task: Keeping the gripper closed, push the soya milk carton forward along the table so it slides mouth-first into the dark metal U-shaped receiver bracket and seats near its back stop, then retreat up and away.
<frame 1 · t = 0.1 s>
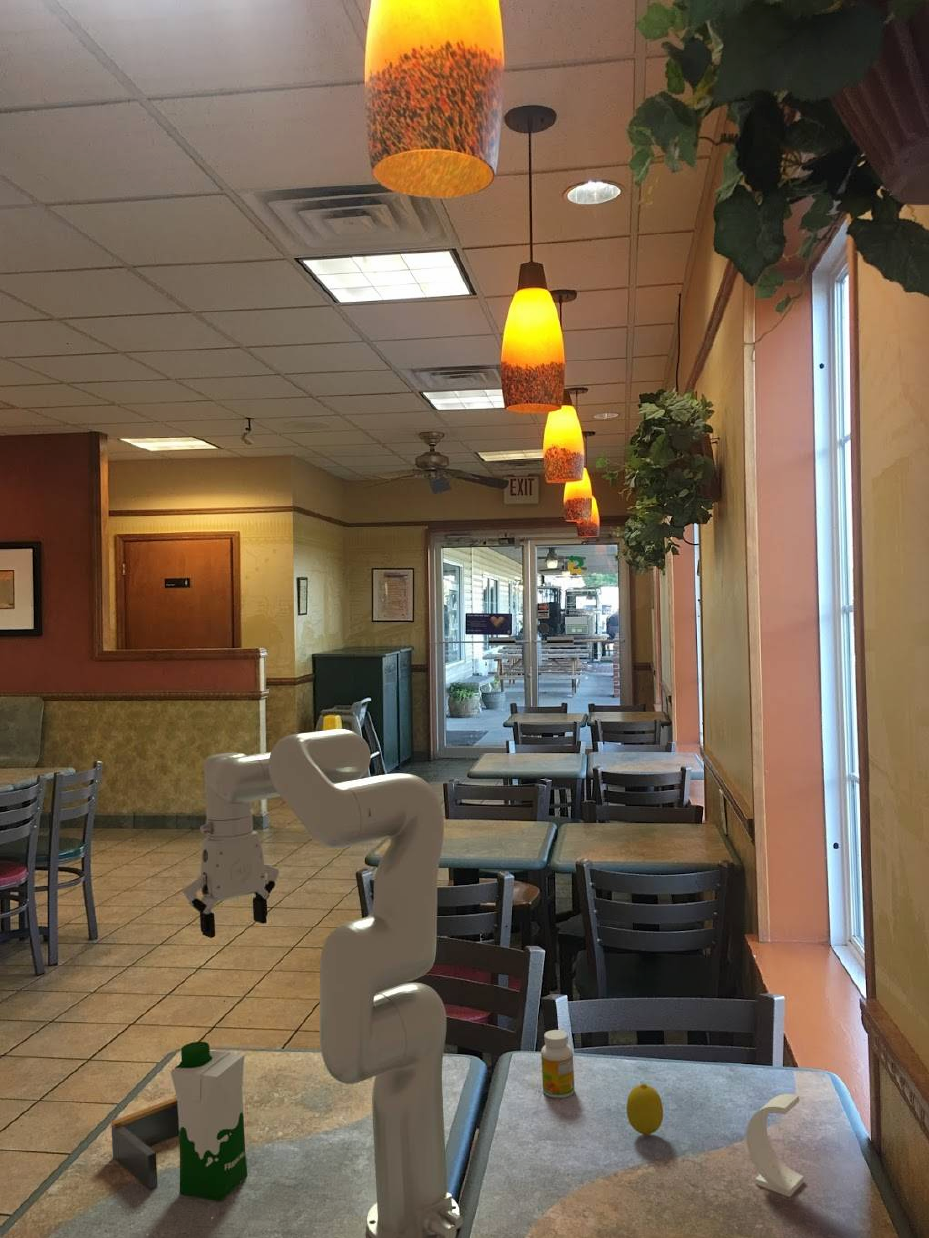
hand: (235, 928, 166), 31 cm above the table, fingers open, 9 cm apart
headphone stand: (776, 1183, 138), on the table
soya milk: (214, 1186, 145), on the table
supplement bottle: (558, 1092, 169), on the table
lemon: (646, 1137, 152), on the table
receiver bracket: (177, 1155, 154), on the table
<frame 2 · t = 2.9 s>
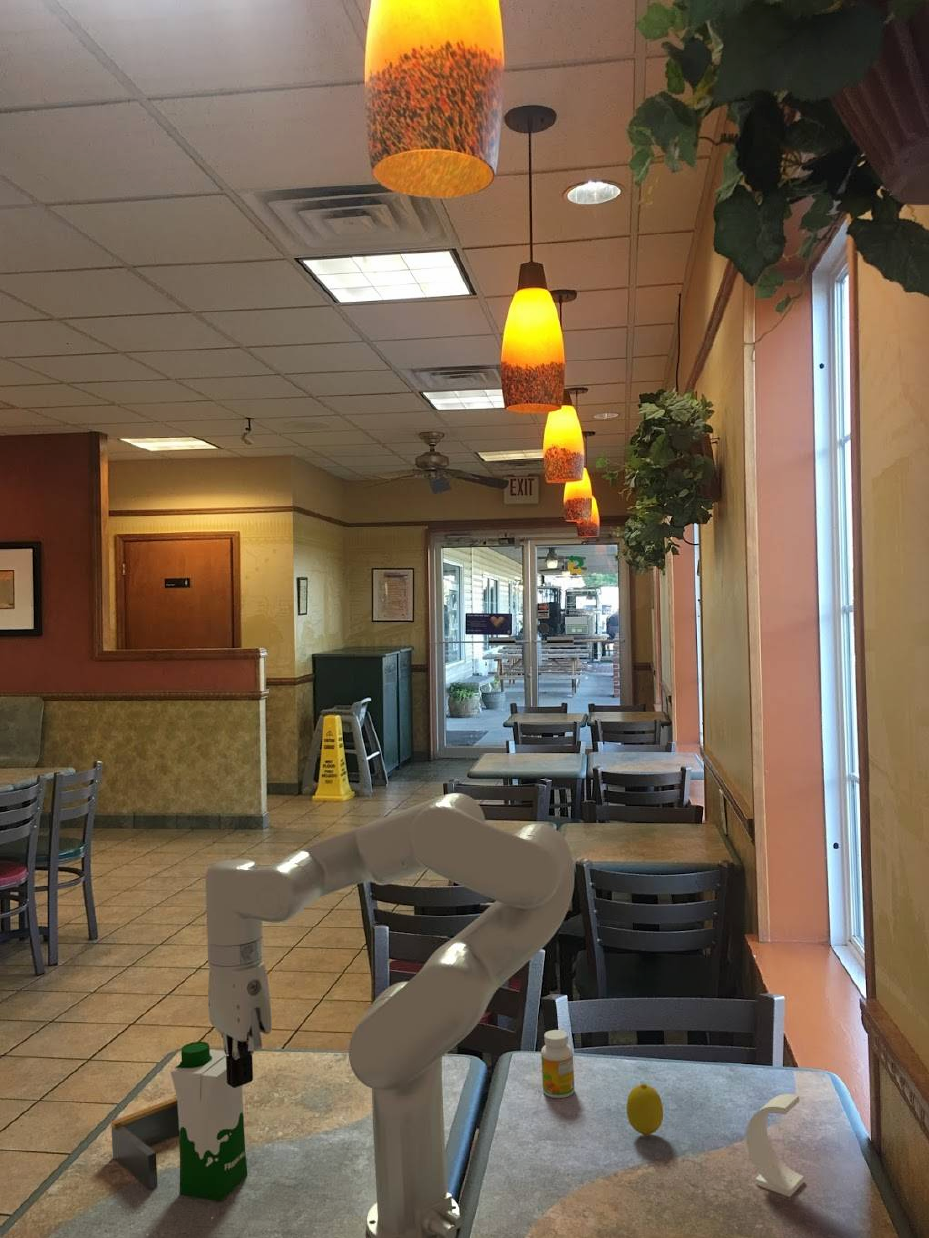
hand: (240, 1082, 138), 18 cm above the table, fingers closed
nothing on the table moved.
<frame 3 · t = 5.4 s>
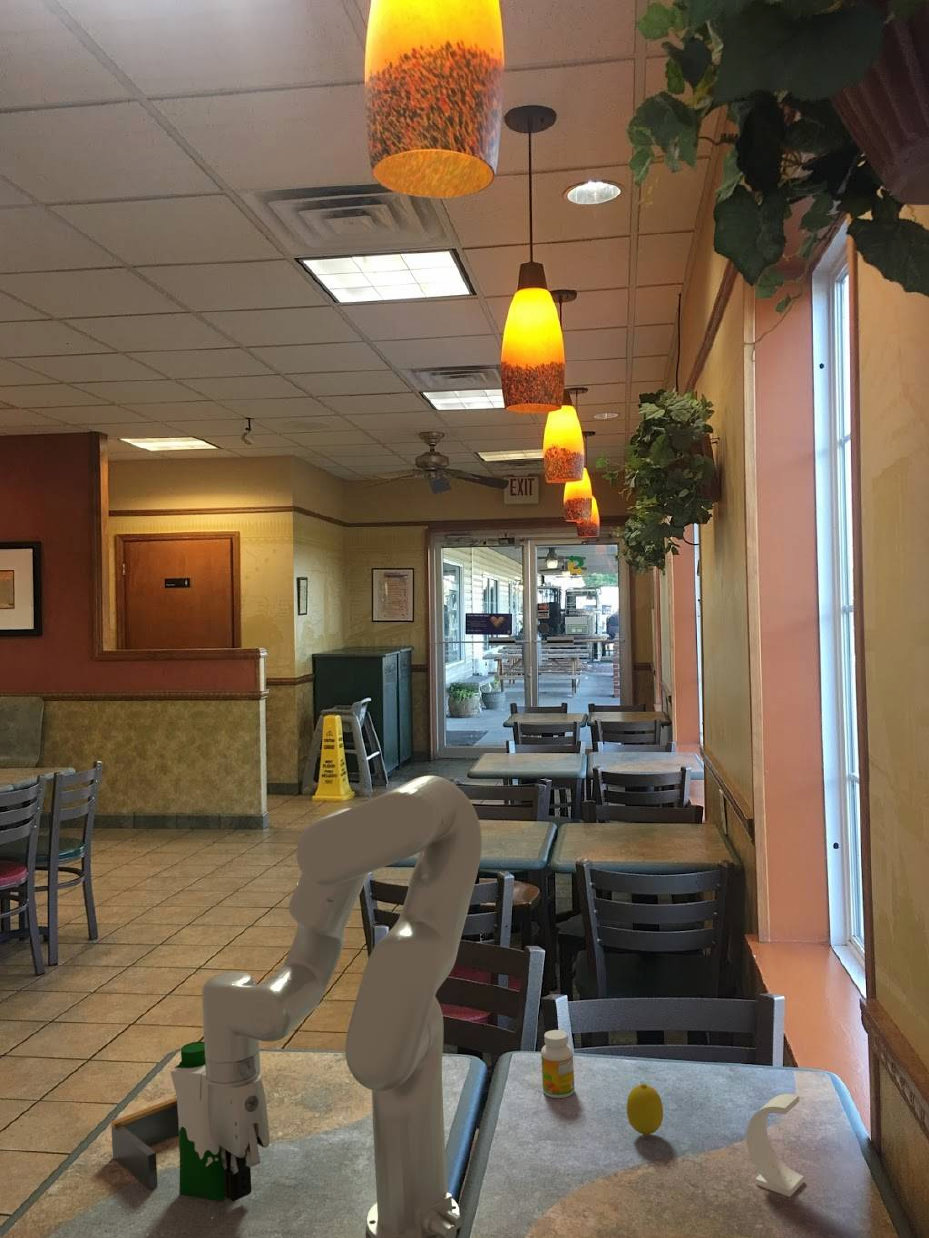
hand: (238, 1195, 139), 1 cm above the table, fingers closed
soya milk: (214, 1186, 145), on the table, touching gripper
everything else where it was.
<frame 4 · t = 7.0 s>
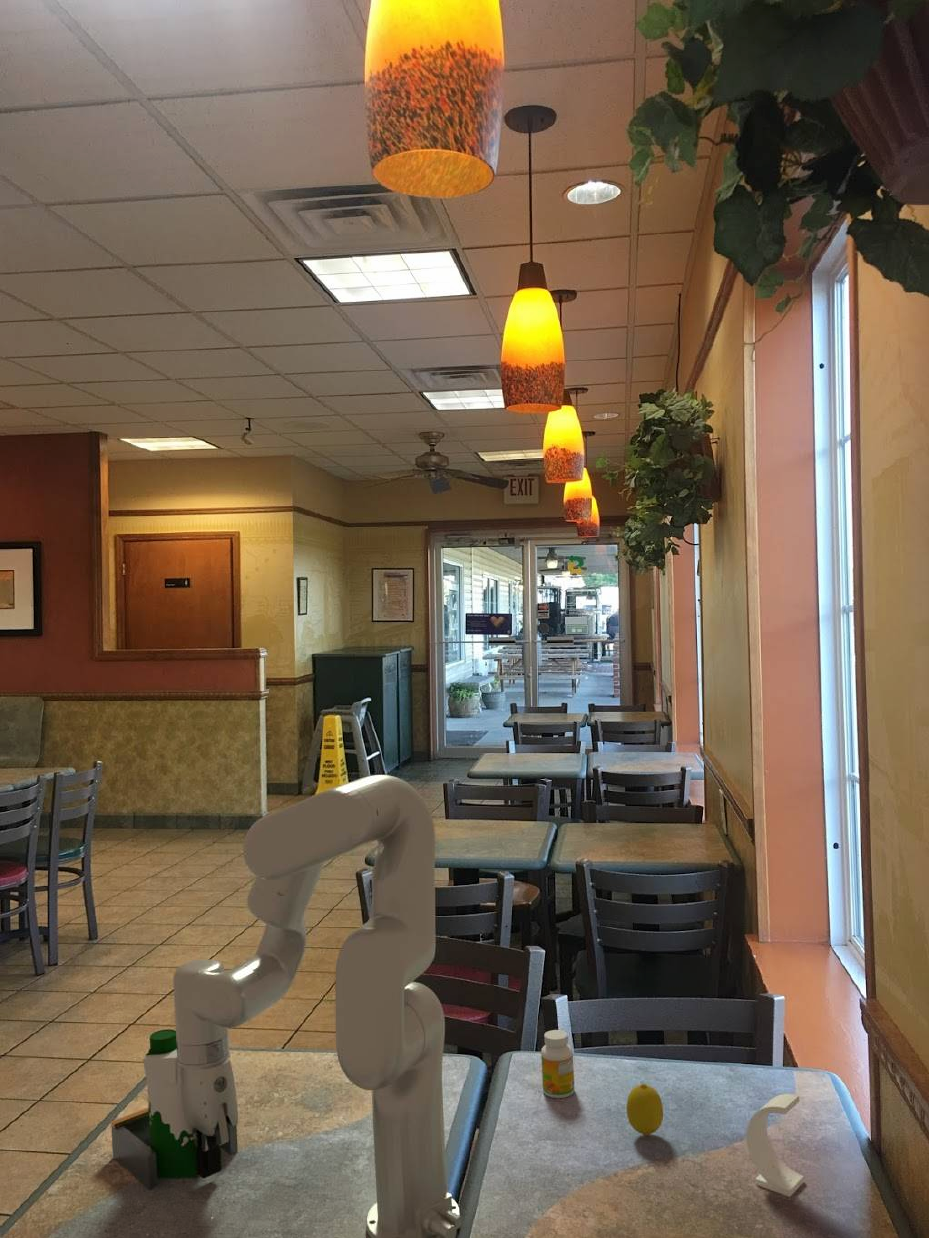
hand: (209, 1172, 146), 1 cm above the table, fingers closed
soya milk: (183, 1167, 151), on the table, touching gripper
everything else where it was.
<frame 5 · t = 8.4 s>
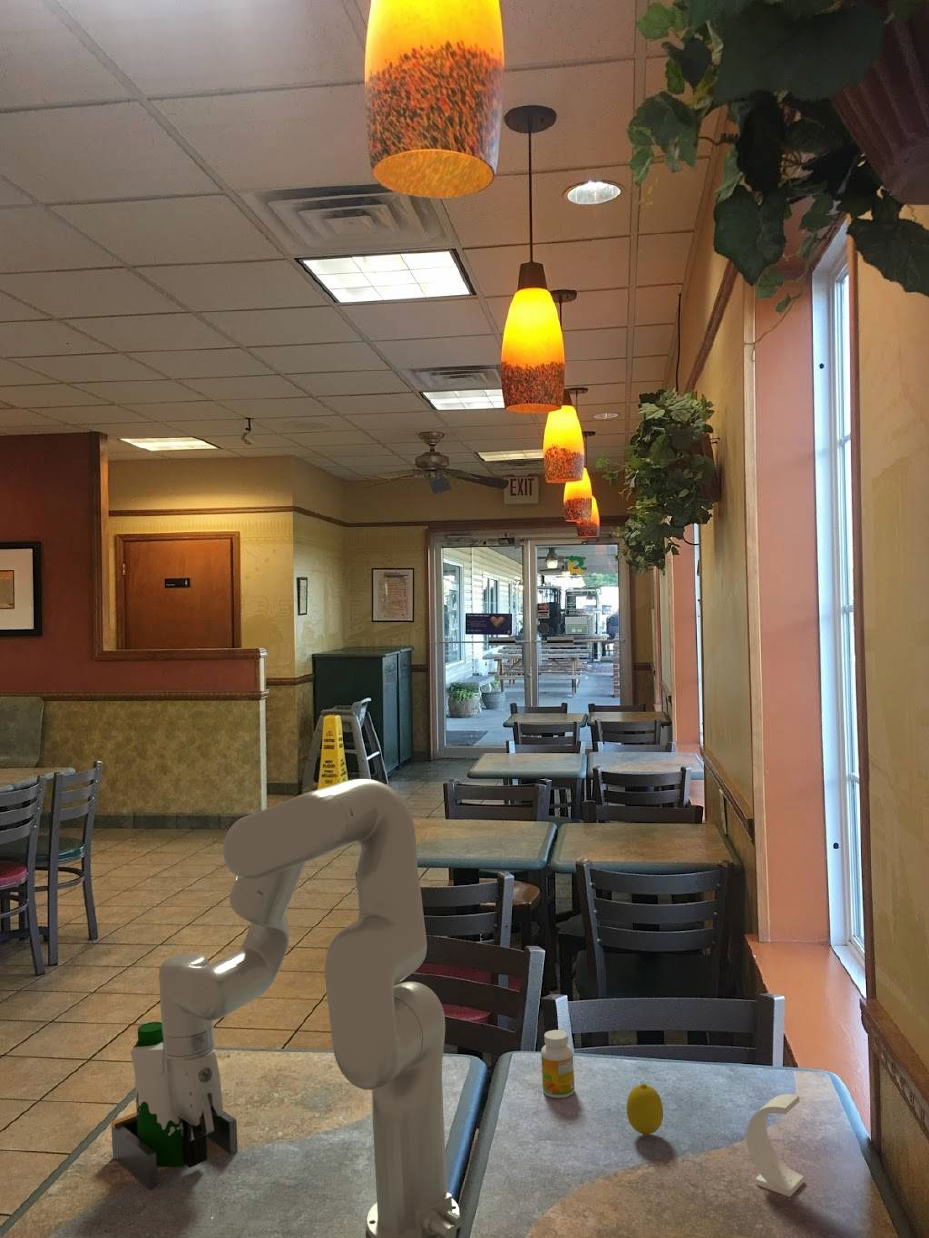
hand: (195, 1161, 149), 1 cm above the table, fingers closed
soya milk: (170, 1156, 154), on the table, touching gripper, receiver bracket
everything else where it was.
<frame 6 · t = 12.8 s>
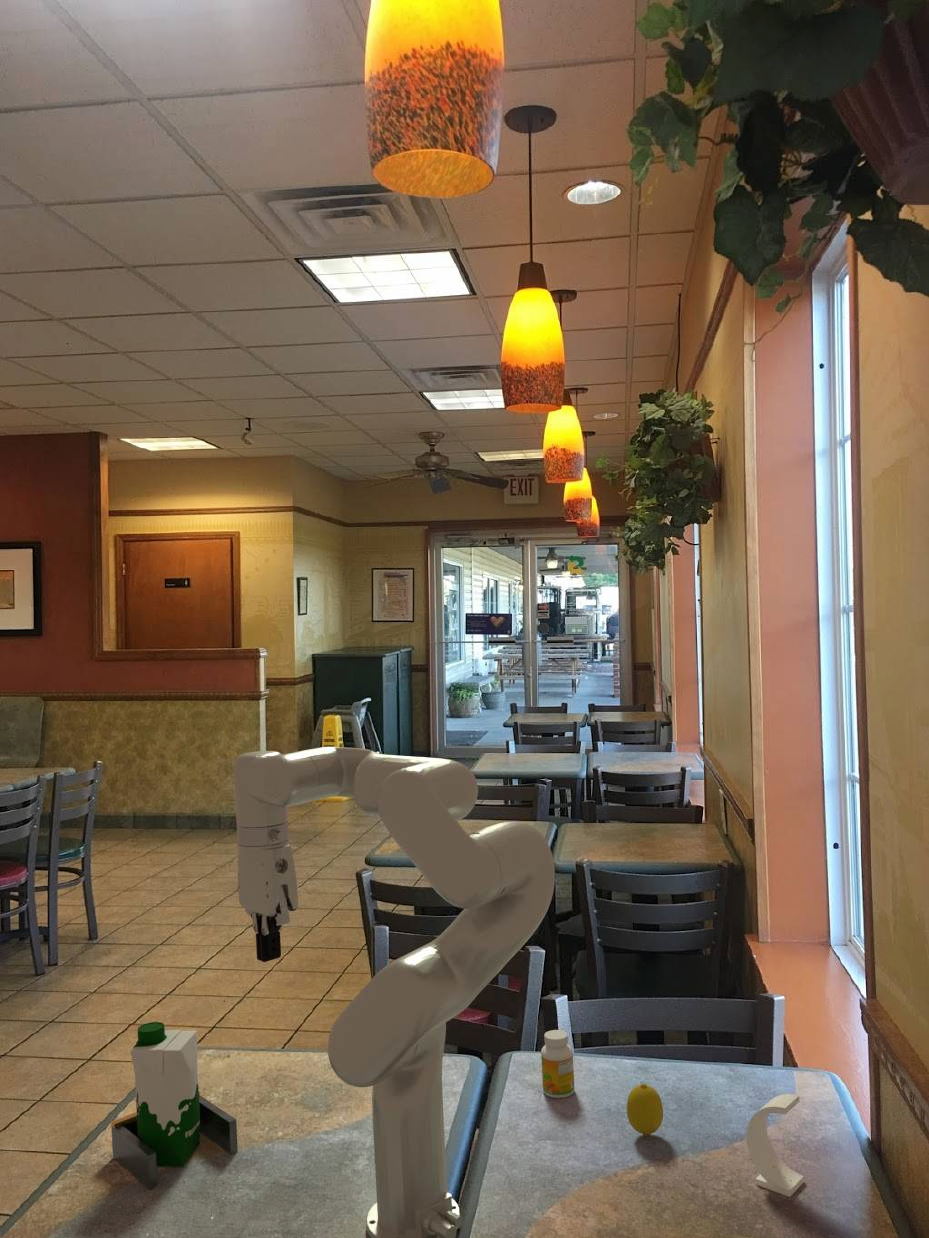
hand: (269, 958, 147), 32 cm above the table, fingers closed
soya milk: (170, 1156, 154), on the table
everything else where it was.
at the end: soya milk inside the target area on the receiver bracket (0.7 cm from its centre), point 0.0 cm above the receiver bracket's base; soya milk tilted 0° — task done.
